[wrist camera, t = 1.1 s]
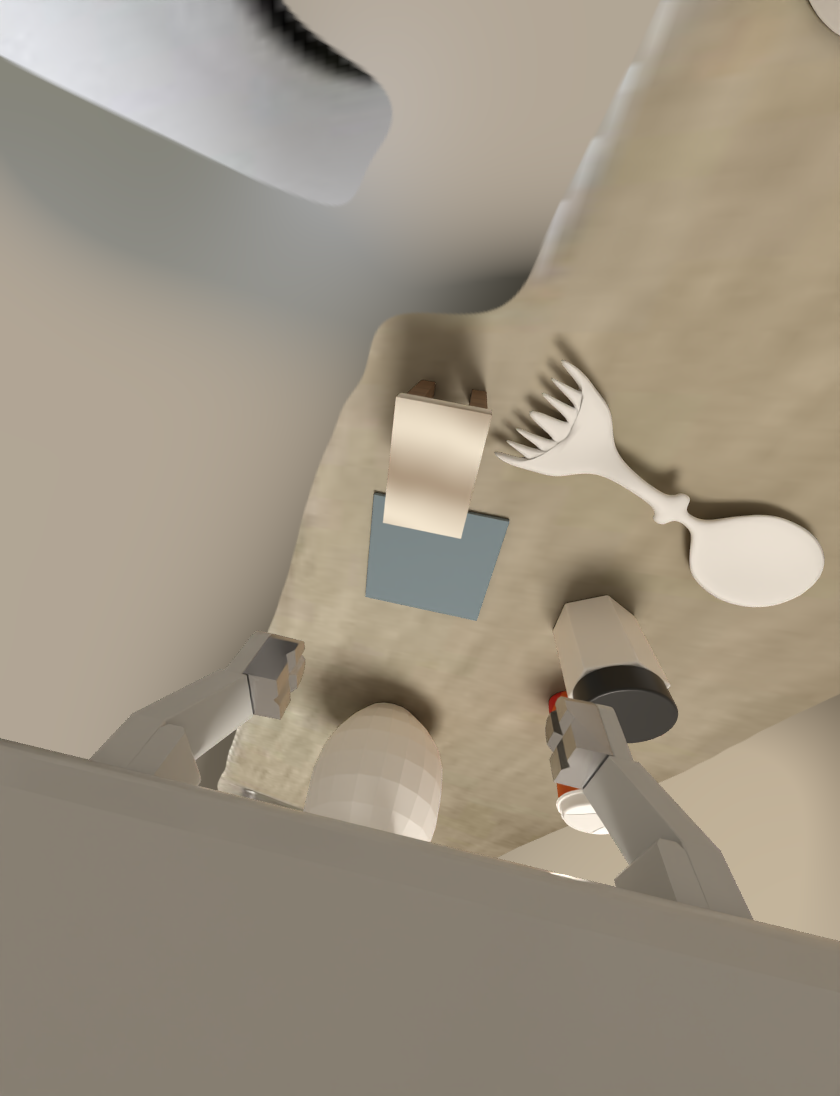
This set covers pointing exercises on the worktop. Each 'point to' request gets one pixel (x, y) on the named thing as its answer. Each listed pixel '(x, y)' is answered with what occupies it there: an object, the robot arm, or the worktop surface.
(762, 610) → the worktop surface
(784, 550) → the white spork
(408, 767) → the white vase
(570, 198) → the worktop surface
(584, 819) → the paper cup
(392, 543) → the mat
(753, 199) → the worktop surface
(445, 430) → the stool
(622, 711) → the jar
